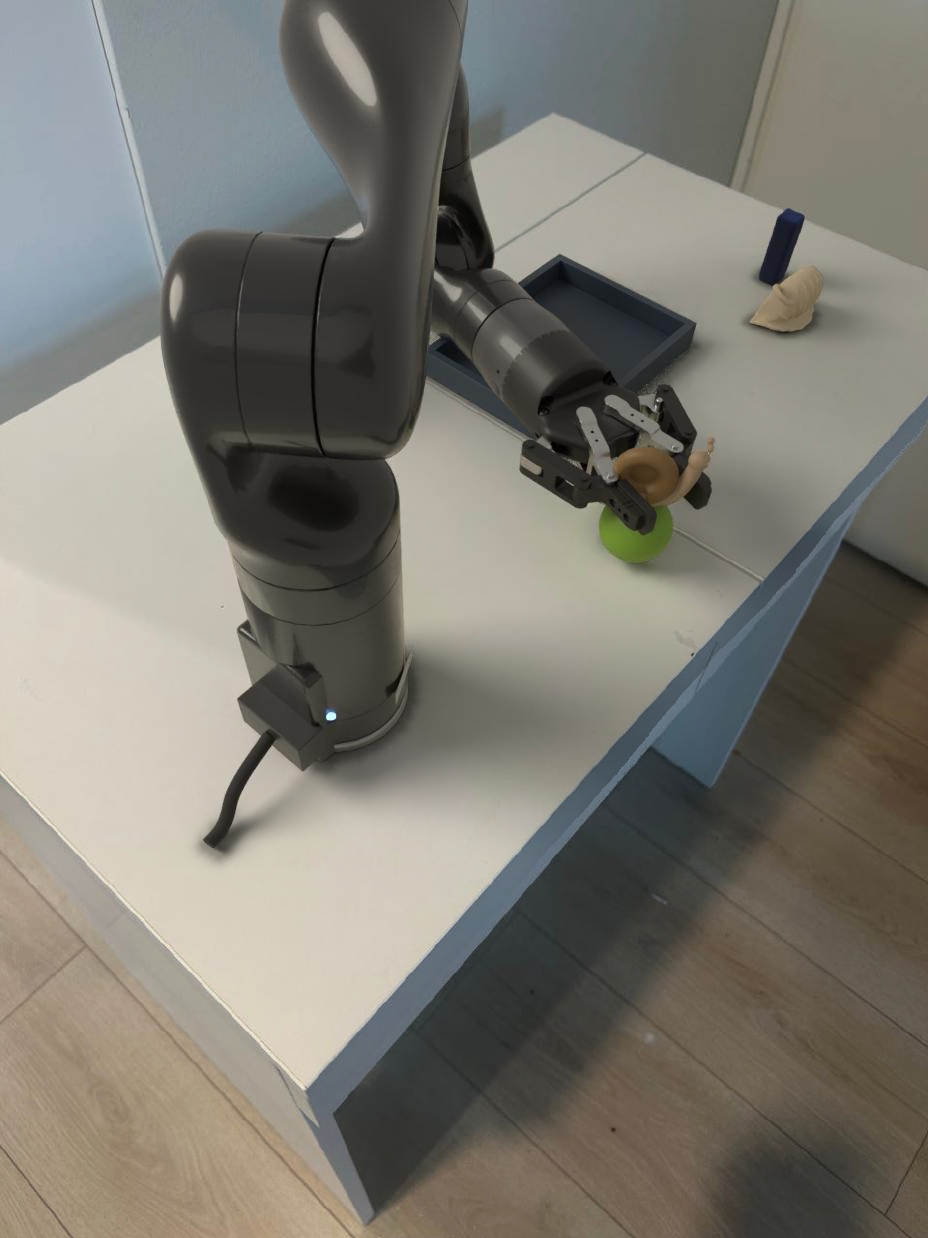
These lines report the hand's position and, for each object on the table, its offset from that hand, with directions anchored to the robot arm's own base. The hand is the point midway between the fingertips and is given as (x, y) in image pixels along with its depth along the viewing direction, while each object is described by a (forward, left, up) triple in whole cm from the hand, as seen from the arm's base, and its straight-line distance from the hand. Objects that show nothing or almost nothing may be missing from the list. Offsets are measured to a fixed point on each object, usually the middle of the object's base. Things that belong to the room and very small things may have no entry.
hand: (678, 511), depth 65 cm
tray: (+15, +21, -7) cm, 26 cm away
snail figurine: (+1, +3, -7) cm, 8 cm away
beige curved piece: (+34, +9, -7) cm, 36 cm away
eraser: (+39, +13, -7) cm, 41 cm away
